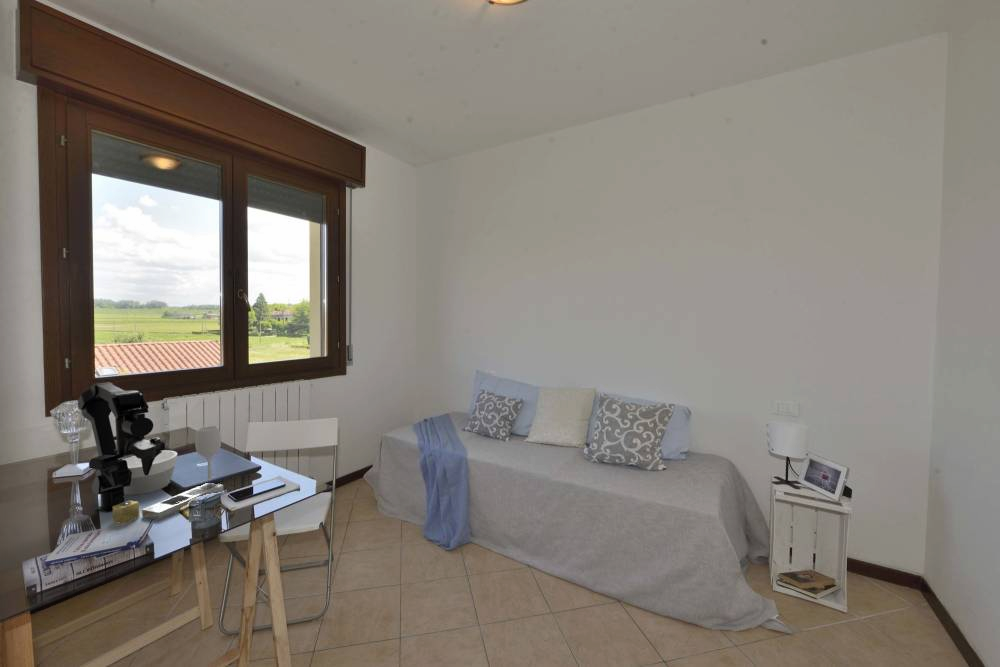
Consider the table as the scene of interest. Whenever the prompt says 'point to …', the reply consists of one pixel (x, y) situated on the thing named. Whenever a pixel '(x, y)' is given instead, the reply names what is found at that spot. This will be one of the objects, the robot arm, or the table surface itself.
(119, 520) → the nut block
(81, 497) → the table surface
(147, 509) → the rail
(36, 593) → the table surface
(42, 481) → the table surface
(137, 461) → the bowl
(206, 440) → the wineglass
